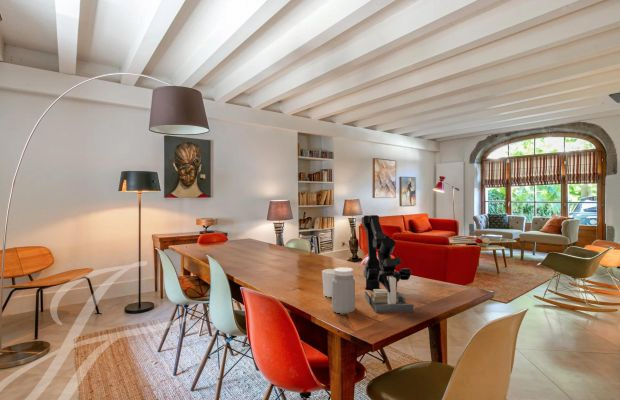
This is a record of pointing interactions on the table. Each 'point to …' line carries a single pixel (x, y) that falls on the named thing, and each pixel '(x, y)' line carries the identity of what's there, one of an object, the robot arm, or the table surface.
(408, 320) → the table surface
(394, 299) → the cream rectangular block
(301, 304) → the table surface
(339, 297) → the jar
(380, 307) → the rack
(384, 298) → the offcut stack
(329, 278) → the white cylinder
